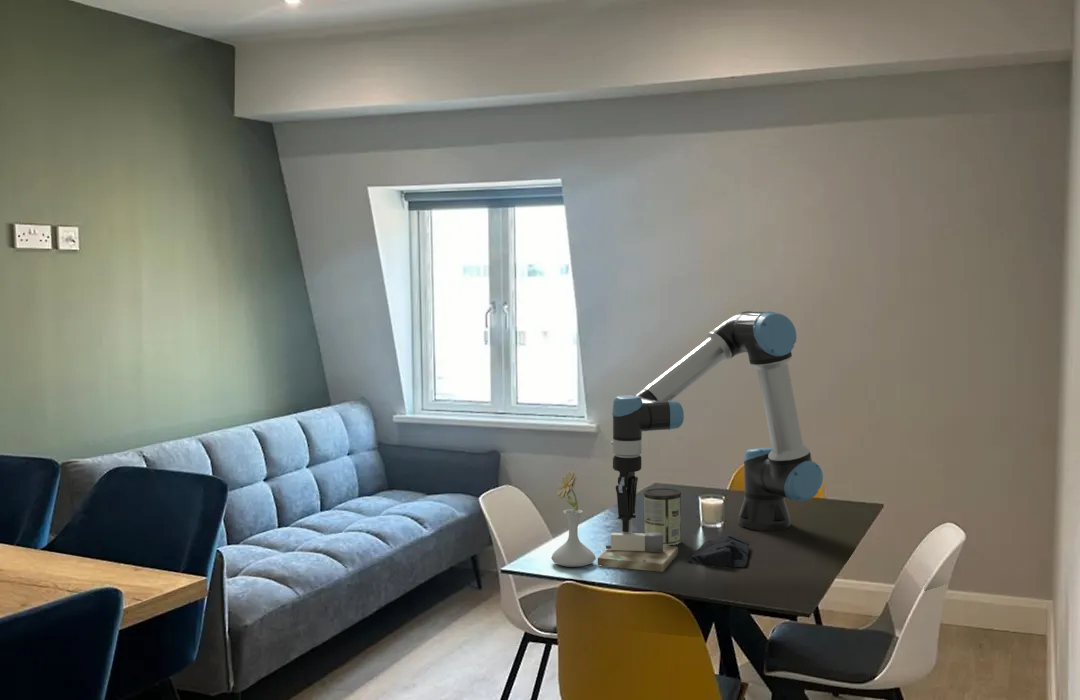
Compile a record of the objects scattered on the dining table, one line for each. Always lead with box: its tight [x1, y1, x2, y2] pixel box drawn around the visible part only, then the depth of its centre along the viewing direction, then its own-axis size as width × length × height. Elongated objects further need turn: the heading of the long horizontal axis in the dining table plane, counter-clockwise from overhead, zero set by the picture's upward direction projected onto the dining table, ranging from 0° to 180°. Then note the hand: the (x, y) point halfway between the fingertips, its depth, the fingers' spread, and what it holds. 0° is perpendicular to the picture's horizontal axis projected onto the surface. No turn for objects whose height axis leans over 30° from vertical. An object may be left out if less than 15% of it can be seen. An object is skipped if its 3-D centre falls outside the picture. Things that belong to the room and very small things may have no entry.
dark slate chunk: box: [687, 535, 750, 569], centre depth 263 cm, size 15×22×5 cm
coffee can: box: [643, 487, 682, 546], centre depth 278 cm, size 10×10×14 cm
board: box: [597, 545, 679, 573], centre depth 260 cm, size 17×18×2 cm
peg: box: [605, 532, 663, 553], centre depth 261 cm, size 15×5×4 cm, turn 81°
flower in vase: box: [551, 470, 597, 568], centre depth 255 cm, size 13×11×25 cm
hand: (626, 542), depth 264 cm, fingers closed
